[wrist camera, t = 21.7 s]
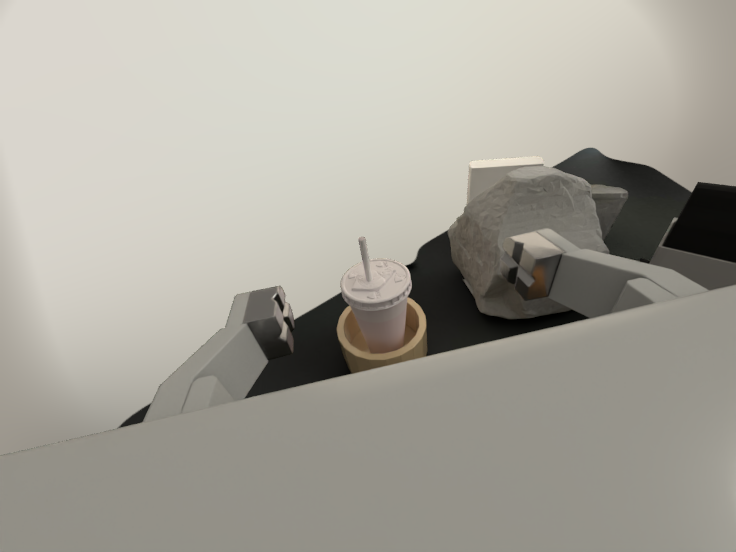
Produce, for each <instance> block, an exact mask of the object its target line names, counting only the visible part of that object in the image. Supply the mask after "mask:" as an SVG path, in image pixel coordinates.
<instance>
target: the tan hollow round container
mask: <svg viewBox="0 0 736 552" xmlns="http://www.w3.org/2000/svg"><path fill="white" fill-rule="evenodd" d="M337 334H338V339H339V342H340V345H341V349H342V352H343V355H344V358H345V361H346V363H347V366H348V368H349V370H350V371H351V373H352V374H353V373H358V372H362V371H366V370H371V369H375V368H379V367H383V366H388V365H392V364H396V363H400V362H405V361H409V360H413V359H418V358H422V357H426V356H427V331H426V316H425V314H424V312H423V310H422V309H421V307H420V306H419V305H418V304H417V303H416V302H415V301H414V300H412V299H410V298H408V297H407V308H406V321H405V334H404V346H403V347H402V348H400V349H398V350H396V351H392V352H388V353H385V354H371V352H370V350H369V348H368V345H367V343H366V341H365V338H364V336H363V334H362V332H361V329H360V327H359V325H358V322H357V320H356V318H355V316H354V313H353V311H352V309H351V306H350V305H349V306H348V307H347V308H346V309H345V310H344V312H343V313H342V315H341V316H340V318H339V322H338V326H337Z"/></svg>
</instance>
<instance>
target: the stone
mask: <svg viewBox="0 0 736 552" xmlns="http://www.w3.org/2000/svg"><path fill="white" fill-rule="evenodd" d="M544 228H548V229H551V230H553V231H554V232H556V233H557V234H559V235H560V236H562V237H563V238H565V239H566V240H568V241H569V242H571V243H572V244H574V245H575V246H577V247H578V248H580V249H581V250H582V249H589V250H593V251H597V252H601V253H605V254H609V250H608V248H607V247H606V245H605V244H604V242H603V240H602V231H601V229H600V223H599V218H598V216H597V214H596V206H595V202H594V200H593V199H592V189H591V185H590V184H589V183H588V182H587V181H586V180H584V179H582V178H579V177H576V176H573V175H572V174H567V173H564V172H562V171H560V170H557V169H555V168H551V167H545V166H533V167H523V168H519V169H517V170H514V171H511V172H510V173H508V174H506V175H505V176H504V177H503V178H502V179H501V180H499V181H498V182H497V183H496V184H494V185H493V186H491V187H490V188H488V189H487V190H485V191H484V192H482V193H481V194H479V195H478V196H476V197H475V198H474V199H473V200H471V201H470V202H469V203H468V204H467V206H466V207H465V209H464V213H463V214H462V215H461V216H460V217H458V218H457V220H456V222H454V224H452V225H451V226H450V228H449V230H448V237H449V239H450V245H451V255H452V260H453V262H454V264H455V265H456V266H457V267H458V268H459V269H460V271H461V273H462V275H463V276H464V278H465V279H463V281H464V282H465V284H466V285H467V287H468V288H469V290H470V291H471V293H472V295H473V296H474V298H475V300H476V305H477V307H478V309H479V311H480V312H481V313H484V314H487V315H491V316H498V317H502V318H506V319H520V318H533V317H537V316H542V315H548V314H554V313H560V312H565V311H569V310H571V309H570V308H568V307H566V306H564V305H562V304H560V303H558V302H556V301H554V300H552V299H550V298H548V297H544V298H539V299H534V300H529V301H524V299H523V298H522V297H521V296H520V295H519V294H518V293H517V292H516V291H515V290H514V287H515V285H514V284H512V283H509V282H507V281H506V280H505V279H504V278H503V276H502V274H501V271H500V266H499V265H500V258H501V257H502V255H503V254H504V253H505V251H504V250H503V248H502V246H503V242H504V240H505V238H507V237H512V236H516V235H520V234H525V233H529V232H532V231H536V230H540V229H544Z"/></svg>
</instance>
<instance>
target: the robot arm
mask: <svg viewBox="0 0 736 552" xmlns="http://www.w3.org/2000/svg"><path fill="white" fill-rule="evenodd" d="M502 248H503V250H504V251H505V253H504V254H503V255H502V257H501V258H500V265H499V266H500V271H501V274H502V276H503V278H504V279H505V280H506V281H507V282H509V283H512V284H514V285H515V287H514V290H515V291H516V292H517V293H518V294H519V295H520V296H521V297H522V298H523V299H524V301H529V300H534V299H539V298H544V297H548V298H550V299H552V300H554V301H556V302H558V303H560V304H562V305H564V306H566V307H568V308H570V309H572V310H574V311H576V312H579V313H581V314H583V315H585V316H587V317H589V319H585V320H581V321H577V322H572V323H568V324H564V325H560V326H555V327H551V328H547V329H542V330H538V331H534V332H529V333H525V334H521V335H516V336H512V337H508V338H503V339H499V340H495V341H490V342H486V343H482V344H477V345H473V346H469V347H465V348H460V349H456V350H452V351H448V352H443V353H439V354H435V355H430V356H426V357H422V358H418V359H413V360H409V361H405V362H400V363H396V364H392V365H388V366H383V367H379V368H375V369H371V370H366V371H362V372H358V373H353V374H349V375H345V376H340V377H336V378H332V379H328V380H323V381H319V382H315V383H310V384H306V385H302V386H298V387H293V388H289V389H285V390H280V391H276V392H272V393H268V394H263V395H259V396H255V397H250V398H246V399H244V398H245V396H246V395H247V393H248V392H249V390H250V389H251V387H252V386H253V384H254V383H255V381H256V380H257V378H258V377H259V375H260V373H261V372H262V370H263V369H264V367H265V366H266V364H267V363H268V360H271V359H275V358H279V357H283V356H286V355H290V354H293V340H294V339H293V336H292V334H291V332H292V331H293V330H294V318H293V313H292V309H291V307H290V304H288V303H287V302H285V293H284V290H283V288H282V287H281V286H276V287H271V288H266V289H261V290H256V291H252V292H246V293H241V294H237V295H236V296H235V297H234V301H233V304H232V307H231V310H230V314H229V316H228V320H227V323H226V326H225V328H222V329H220V330H219V331H218V332H217V333H216V334H215V335H213V336H212V337H211V338H210V339H209V340H208V341H207V342H206V343H205V344H204V345H203V346H202V347H201V348H200V349H198V350H197V351H196V352H195V353H194V354H193V355H192V356H191V357H190V358H189V359H188V360H187V361H186V362H185V363H183V364H182V365H181V366H180V367H179V368H178V369H177V370H176V371H175V372H174V373H173V374H172V375H171V376H169V378H167V379H166V380H165V381H164V382H163V383H162V384H161V385H160V386H159V388H158V390H157V392H156V395H155V397H154V399H153V401H152V403H151V405H150V408H149V410H148V412H147V414H146V416H145V418H144V421H143V423H139V424H134V425H130V426H126V427H122V428H117V429H113V430H109V431H105V432H100V433H96V434H91V435H87V436H83V437H79V438H75V439H70V440H66V441H62V442H57V443H53V444H49V445H44V446H40V447H36V448H31V449H27V450H22V451H18V452H14V453H9V454H4V455H0V552H736V284H735V285H731V286H726V287H722V288H718V289H714V290H708V289H706V288H704V287H702V286H700V285H699V284H697V283H695V282H693V281H692V280H690V279H688V278H686V277H685V276H683V275H681V274H679V273H678V272H676V271H674V270H672V269H668V268H664V267H660V266H655V265H651V264H647V263H643V262H639V261H635V260H630V259H626V258H622V257H618V256H614V255H610V254H605V253H601V252H597V251H593V250H589V249H582V250H581V249H580V248H578V247H577V246H575V245H574V244H572V243H571V242H569V241H568V240H566V239H565V238H563V237H562V236H560V235H559V234H557V233H556V232H554V231H553V230H551V229H548V228H544V229H540V230H536V231H532V232H529V233H525V234H520V235H516V236H512V237H507V238H505V240H504V242H503V246H502Z"/></svg>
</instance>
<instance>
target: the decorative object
mask: <svg viewBox="0 0 736 552" xmlns="http://www.w3.org/2000/svg"><path fill="white" fill-rule="evenodd" d="M639 262H643V263H647V264H651V265H655V266H660V267H664V268H668V269H672V270H674V271H676V272H678V273H679V274H681V275H683V276H685V277H686V278H688V279H690V280H692V281H693V282H695V283H697V284H699V285H700V286H702V287H704V288H706V289H708V290H714V289H718V288H722V287H726V286H731V285H735V284H736V186H727V185H719V184H710V183H701V182H698V183H697V185H696V187H695V189H694V190H693V192H692V194H691V195H690V197H689V199H688V201H687V203H686V204H685V206H684V208H683V210H682V211H681V213H680V215H679V217H678V218H674V219H673V221H672V223H671V224H670V226H669V228H668V230H667V232H666V234H665V235H664V237H663V239H662V241H661V243H660V244H659V246H658V248H657V250H656V252H655V253H654V255H653V257H652V259H651V261H650V262H649V261H647V260H645V259H642V258H641V259H640V261H639Z"/></svg>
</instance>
